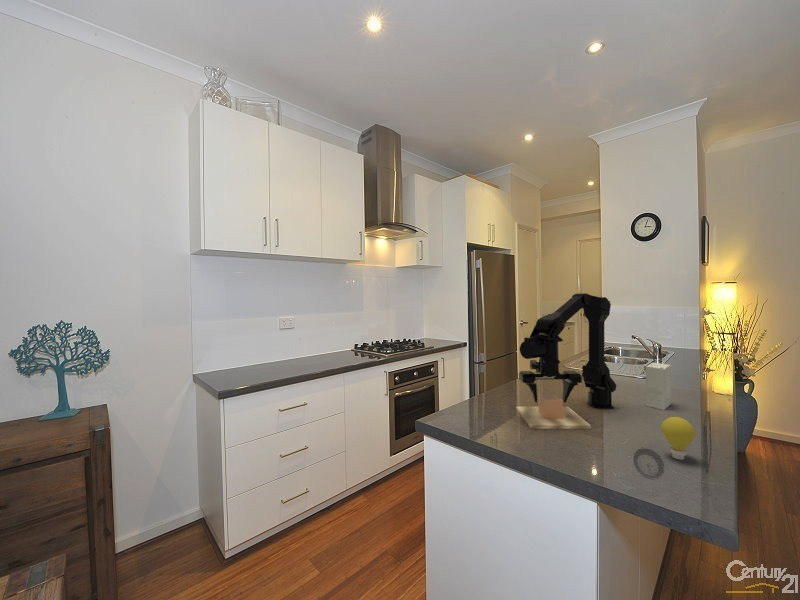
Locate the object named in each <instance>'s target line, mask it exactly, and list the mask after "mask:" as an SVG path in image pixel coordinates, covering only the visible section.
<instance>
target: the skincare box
mask: <svg viewBox="0 0 800 600" xmlns="http://www.w3.org/2000/svg"><path fill="white" fill-rule="evenodd" d="M671 404H672V365H671V364H668V363H667V364H666V363H659V362H651V363H649V364H648V365H646V366H645V406H646V407H648V408H654V409H658V410H662V411H663V410H664V411H665V410H666V409H667V408H669V407H670V406H671Z"/></svg>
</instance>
